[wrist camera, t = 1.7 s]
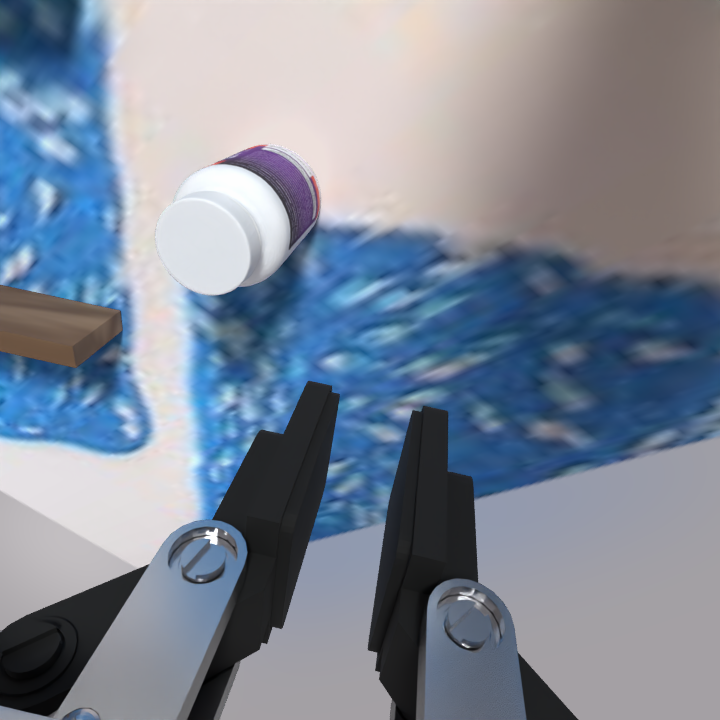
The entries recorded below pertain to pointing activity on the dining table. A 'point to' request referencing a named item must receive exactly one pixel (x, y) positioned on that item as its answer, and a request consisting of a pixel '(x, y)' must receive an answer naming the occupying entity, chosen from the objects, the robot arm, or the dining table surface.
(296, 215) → the pill bottle
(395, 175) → the dining table surface
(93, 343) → the box
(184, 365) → the dining table surface
